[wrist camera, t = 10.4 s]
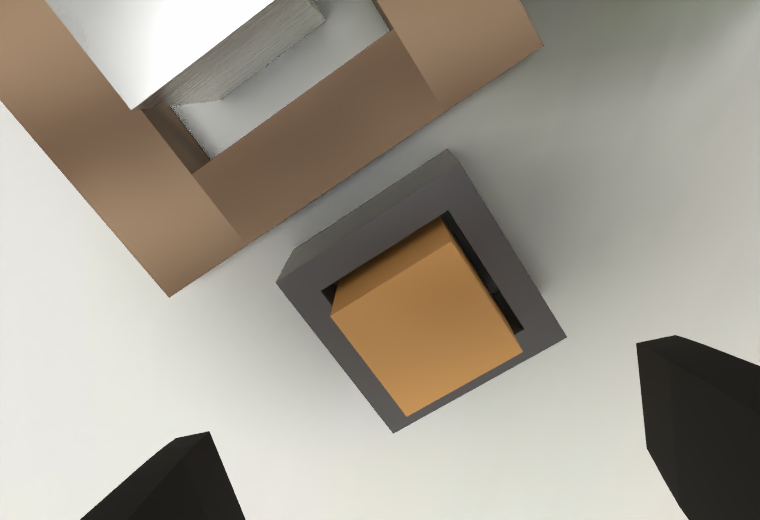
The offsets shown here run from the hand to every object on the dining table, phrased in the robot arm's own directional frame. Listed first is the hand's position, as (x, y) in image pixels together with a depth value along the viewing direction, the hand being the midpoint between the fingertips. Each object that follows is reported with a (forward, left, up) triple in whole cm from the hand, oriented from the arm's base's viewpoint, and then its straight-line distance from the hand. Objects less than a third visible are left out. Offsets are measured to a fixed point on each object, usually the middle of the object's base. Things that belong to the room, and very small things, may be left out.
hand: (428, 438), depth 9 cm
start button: (-1, 0, -8) cm, 8 cm away
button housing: (-1, 0, -9) cm, 9 cm away
